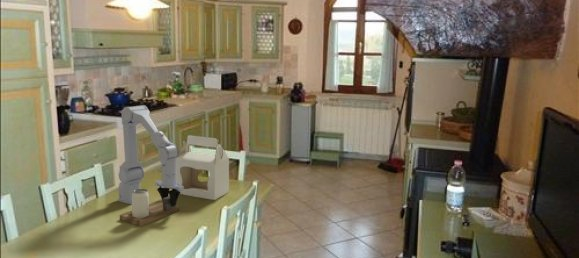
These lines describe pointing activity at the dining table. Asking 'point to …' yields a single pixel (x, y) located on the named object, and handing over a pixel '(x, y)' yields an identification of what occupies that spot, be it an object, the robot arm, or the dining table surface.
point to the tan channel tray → (152, 212)
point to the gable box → (212, 163)
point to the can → (140, 203)
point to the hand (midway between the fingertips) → (169, 204)
